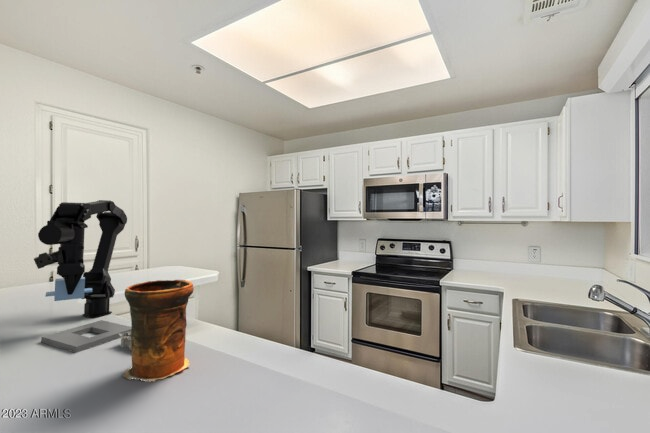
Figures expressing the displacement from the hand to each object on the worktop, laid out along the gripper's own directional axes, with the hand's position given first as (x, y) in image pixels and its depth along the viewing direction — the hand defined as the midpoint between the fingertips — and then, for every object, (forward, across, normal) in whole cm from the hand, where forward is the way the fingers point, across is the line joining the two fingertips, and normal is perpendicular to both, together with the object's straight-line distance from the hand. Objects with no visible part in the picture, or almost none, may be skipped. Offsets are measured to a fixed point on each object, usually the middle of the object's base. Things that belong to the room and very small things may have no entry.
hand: (70, 293), depth 95 cm
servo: (+2, 0, 0) cm, 2 cm away
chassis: (+12, +10, +5) cm, 16 cm away
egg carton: (+12, +25, +16) cm, 32 cm away
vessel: (+12, +42, +17) cm, 47 cm away
